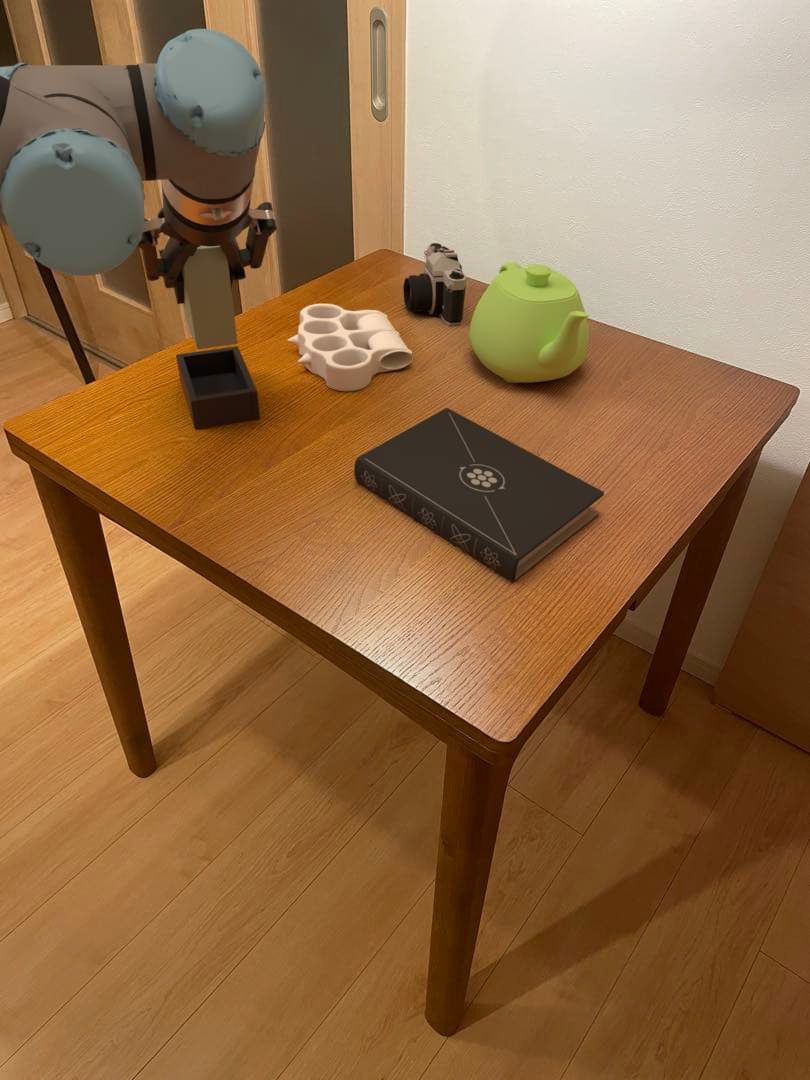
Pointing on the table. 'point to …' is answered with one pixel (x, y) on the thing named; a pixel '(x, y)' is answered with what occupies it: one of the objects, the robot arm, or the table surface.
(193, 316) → the grey-green lidded box
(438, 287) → the camera
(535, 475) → the book
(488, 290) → the teapot
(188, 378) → the socket
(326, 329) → the knuckle duster
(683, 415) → the table surface
